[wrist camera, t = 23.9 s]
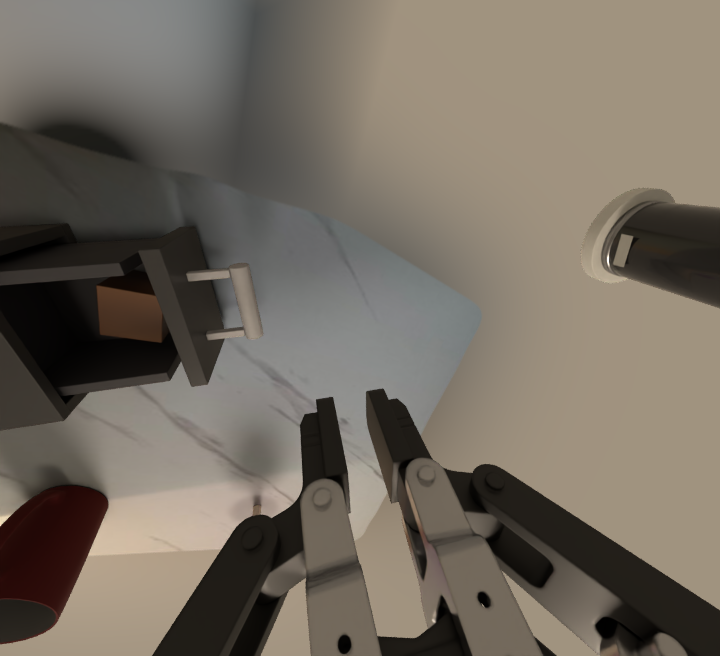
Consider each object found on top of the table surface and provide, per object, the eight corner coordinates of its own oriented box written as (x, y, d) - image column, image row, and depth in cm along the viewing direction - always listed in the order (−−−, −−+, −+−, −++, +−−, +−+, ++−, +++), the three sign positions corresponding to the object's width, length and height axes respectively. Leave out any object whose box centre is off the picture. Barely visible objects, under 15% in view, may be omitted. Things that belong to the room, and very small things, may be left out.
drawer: (249, 222, 25) (235, 243, 18) (270, 329, 30) (265, 376, 23) (15, 236, 22) (-106, 266, 15) (83, 352, 27) (15, 413, 20)
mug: (5, 465, 32) (-115, 592, 22) (103, 460, 34) (32, 572, 25) (38, 528, 37) (-48, 653, 27) (121, 520, 39) (68, 632, 30)
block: (123, 267, 23) (95, 284, 20) (180, 278, 25) (162, 296, 21) (125, 312, 25) (99, 335, 21) (178, 320, 26) (161, 343, 23)
